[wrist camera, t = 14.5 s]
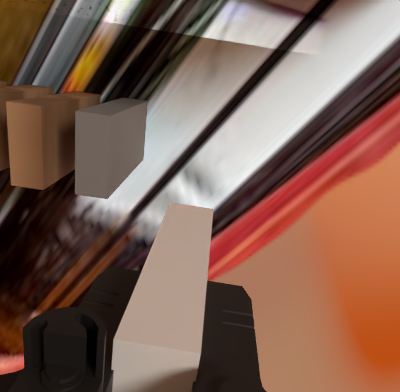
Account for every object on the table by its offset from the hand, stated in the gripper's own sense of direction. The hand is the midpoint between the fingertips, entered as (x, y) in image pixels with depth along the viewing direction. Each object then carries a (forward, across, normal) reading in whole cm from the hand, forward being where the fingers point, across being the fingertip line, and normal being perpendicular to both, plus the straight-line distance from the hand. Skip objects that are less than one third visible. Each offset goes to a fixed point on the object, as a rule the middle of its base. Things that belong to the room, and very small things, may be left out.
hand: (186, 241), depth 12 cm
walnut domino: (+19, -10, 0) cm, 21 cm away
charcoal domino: (+19, -6, 0) cm, 20 cm away
